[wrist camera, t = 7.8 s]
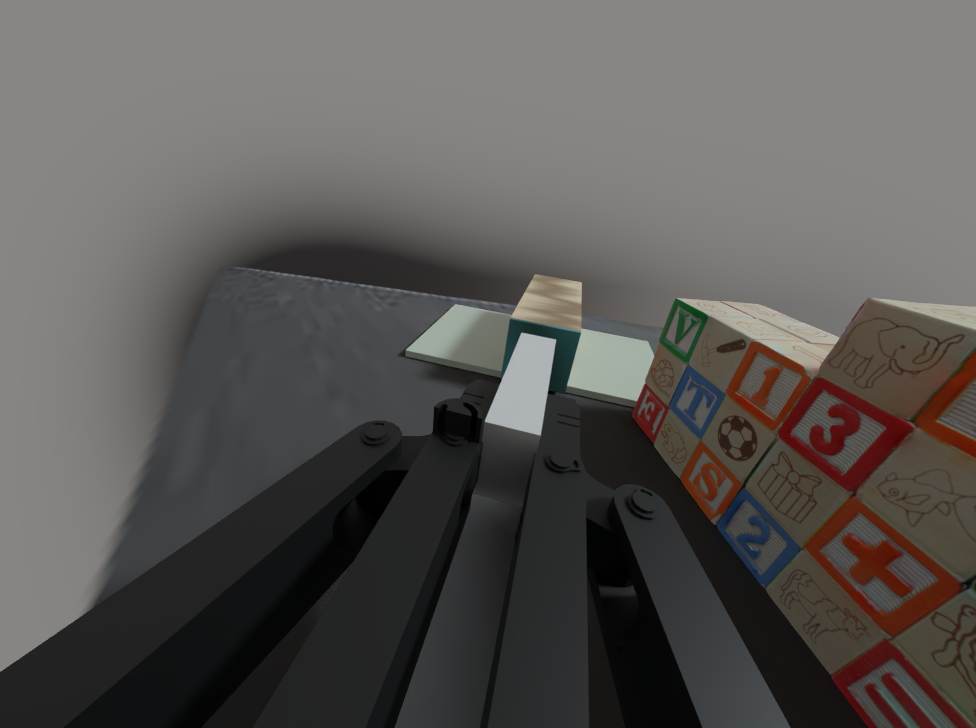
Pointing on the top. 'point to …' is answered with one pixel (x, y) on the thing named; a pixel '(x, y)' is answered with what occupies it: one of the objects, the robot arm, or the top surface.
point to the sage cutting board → (482, 340)
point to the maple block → (549, 323)
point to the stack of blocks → (839, 484)
